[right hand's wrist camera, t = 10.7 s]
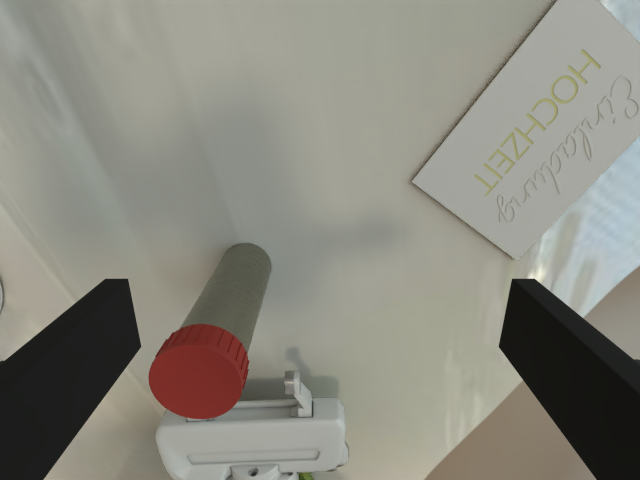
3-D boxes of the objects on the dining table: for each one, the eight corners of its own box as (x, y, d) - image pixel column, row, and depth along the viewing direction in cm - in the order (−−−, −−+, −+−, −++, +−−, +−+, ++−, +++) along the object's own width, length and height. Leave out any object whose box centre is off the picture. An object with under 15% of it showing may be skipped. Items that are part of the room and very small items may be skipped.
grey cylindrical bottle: (267, 290, 42) (234, 415, 25) (220, 282, 42) (154, 404, 25) (274, 247, 40) (242, 352, 24) (225, 239, 40) (157, 339, 23)
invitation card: (576, -23, 31) (685, 88, 34) (574, -22, 31) (683, 88, 35) (411, 181, 37) (517, 261, 40) (411, 181, 38) (516, 260, 41)
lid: (244, 399, 27) (237, 426, 25) (160, 387, 27) (146, 413, 25) (254, 330, 25) (248, 352, 23) (163, 316, 25) (148, 337, 23)
